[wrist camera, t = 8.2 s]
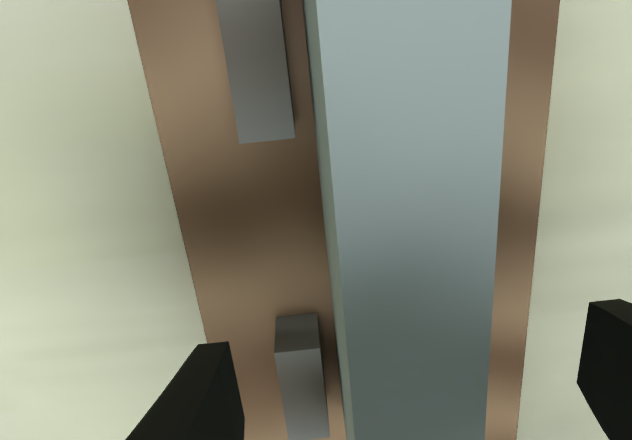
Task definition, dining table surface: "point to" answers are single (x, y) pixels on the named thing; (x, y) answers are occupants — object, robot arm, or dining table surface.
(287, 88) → the hinge rail
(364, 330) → the door panel
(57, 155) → the dining table surface
